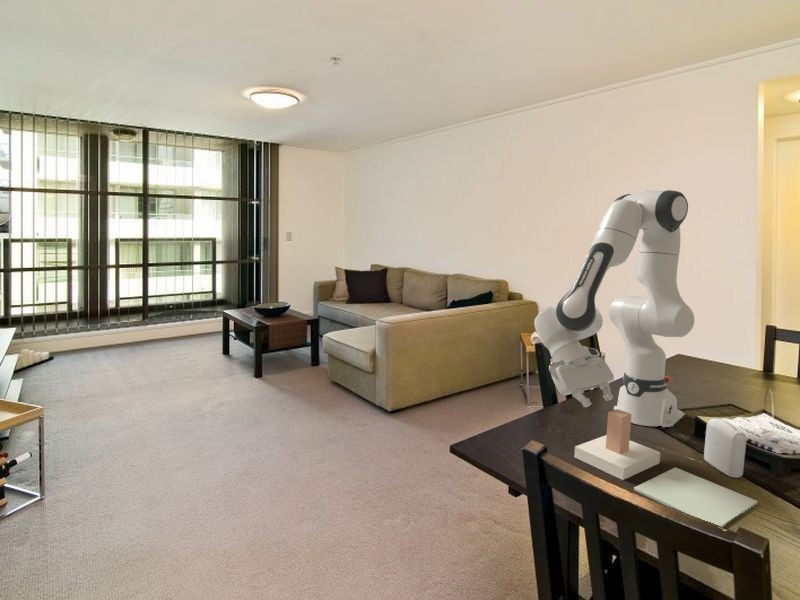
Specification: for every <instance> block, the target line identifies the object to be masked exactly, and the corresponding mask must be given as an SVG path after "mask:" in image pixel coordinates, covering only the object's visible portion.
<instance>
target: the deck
mask: <svg viewBox="0 0 800 600" xmlns="http://www.w3.org/2000/svg"><path fill="white" fill-rule="evenodd" d="M606 436H607V434H605V435H603V436H600V437H597V438H595V439H592V440H590V441H586V442H584V443H581V444H578V445H576V446H574V457H573V458H575V459H578V460H579V461H581V462H584V463H586V464H588V465H591V466H592V467H595V468H597V469H599V470H601V471H603V472H604V473H607V474H609V475H610V476H614V477H616V478H617V479H620V480H622V481H624V480H627V479H629V478H631V477H633V476H635V475H637V474H640V473H642V472H643V471H646V470H648V469H650V468H653V467H655V466H657V465H659V464H660V462H661V461H660V460H661V452H660V451H658V450H655V449H653V448H651V447H648V446H645V445H643V444H640V443H637V442H635V441H633V440H630V441H629V451H626V452H624V453H621V454H618V453H615V452H613V451H611V450H608V449H606Z"/></svg>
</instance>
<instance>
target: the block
mask: <svg viewBox="0 0 800 600" xmlns="http://www.w3.org/2000/svg"><path fill="white" fill-rule="evenodd" d="M631 415H632V414H630V413H627V412H624V411H621V410H619V409H616V410H614V409H612V410H611V411H608V413H607V423H606V425H607V426H606V435H607V436H606V449H608V450H611V451H613V452H615V453H618V454H621V453H624V452H626V451H629V441H631V440H630V439H631V428H632V425H631V424H632V423H631Z"/></svg>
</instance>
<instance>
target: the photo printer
mask: <svg viewBox="0 0 800 600" xmlns="http://www.w3.org/2000/svg"><path fill="white" fill-rule="evenodd" d="M705 429H706V430H705V441H704V450H703V452H704V453H703V459H704V461H705V462H706V463H708V464H709V465H711V466H712V467H713V468H715V469H717V470H718V471H720V472H721V473H723V474H725V475H726V476H728V477H730V478H736V479H737V478H741V477H742V476H743V474H744V468H745V467H744V466H745V458H746V457H745V456H746V448H747V446H746V445H747V436H746V434H745V433H744V432H743V431H742V430H741V429H740V428H739V427H738V426H736V425H735V424H734V423H732V422H730V421H728V420H725V419H723V418H710V419H709V420H708V422H707V423H706V428H705Z"/></svg>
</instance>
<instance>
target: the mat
mask: <svg viewBox="0 0 800 600" xmlns="http://www.w3.org/2000/svg"><path fill="white" fill-rule="evenodd" d="M633 491H635V492H637V493H639V494H641V495H643V496H645V497H647V498H650V499H652V500H654V501H655V502H658V503H659V504H662V505H664V506H666V507H668V508H670V507H671V508H670V509H672V508H674V509H676V510H679V511H681V512H684V513H686V514H689V515H691V516H694V517H697V518H700V519H702V520H705V521H708V522H711V523H714V524H716V525H719V526H721V527H722V528H724V527H725V526H727V525H728V524H729V523H728V522H730V521H731V520H732V519H734V518H735V517H737V516H739V515H740V514H742V513H743V514H744V513H746V512H747V511H749V510H750V509H752V508H753V507H755V506H756V505H758V504H757V503H758V502H759V501H758V500H756V499H754V498H752V497H749V496H746V495H744V494H741V493H738V492H736V491H734V490H732V489H729V488H727V487H725V486H721V485H719V484H717V483H714V482H712V481H710V480H707V479H705V478H702V477H700V476H697V475H695V474H693V473H690V472H687V471H685V470H683V469H680V468H678V467H674V468H671V469H669V470H667V471H665V472H663V473H661V474H659V475H657V476H655V477H653V478H651V479H649V480H647V481H644V482H642V483H641V484H638V485H637V486H634V487H633ZM754 505H755V506H754ZM751 507H752V508H751ZM674 509H673V510H674ZM748 509H749V510H748ZM676 510H675V511H676ZM745 511H746V512H745ZM743 514H742V515H743ZM740 516H741V515H740ZM740 516H739V517H740ZM737 518H738V517H737ZM734 520H735V519H734ZM731 522H732V521H731ZM731 522H730V523H731ZM727 523H728V524H727ZM726 524H727V525H726Z"/></svg>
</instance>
